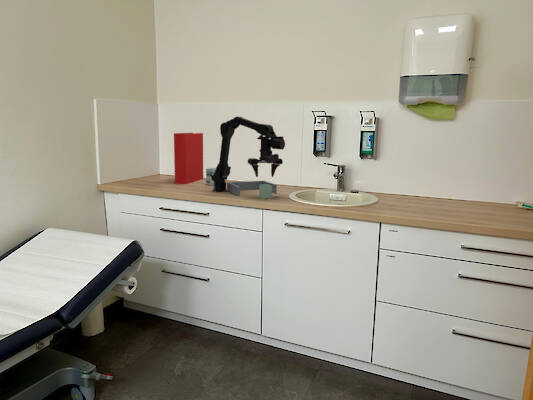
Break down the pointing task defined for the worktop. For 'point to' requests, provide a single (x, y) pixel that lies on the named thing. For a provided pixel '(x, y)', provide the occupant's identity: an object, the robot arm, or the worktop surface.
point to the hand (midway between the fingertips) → (264, 177)
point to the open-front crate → (247, 186)
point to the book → (188, 157)
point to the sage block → (265, 191)
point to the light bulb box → (209, 174)
